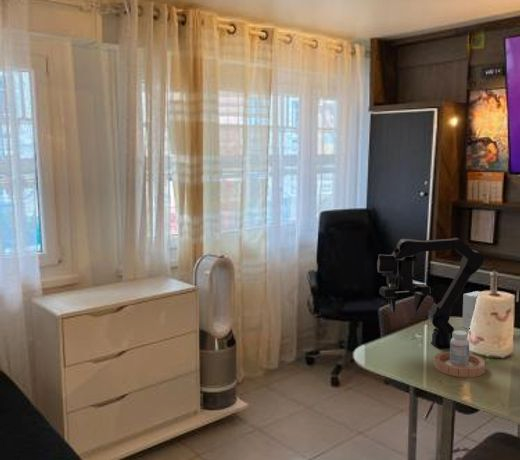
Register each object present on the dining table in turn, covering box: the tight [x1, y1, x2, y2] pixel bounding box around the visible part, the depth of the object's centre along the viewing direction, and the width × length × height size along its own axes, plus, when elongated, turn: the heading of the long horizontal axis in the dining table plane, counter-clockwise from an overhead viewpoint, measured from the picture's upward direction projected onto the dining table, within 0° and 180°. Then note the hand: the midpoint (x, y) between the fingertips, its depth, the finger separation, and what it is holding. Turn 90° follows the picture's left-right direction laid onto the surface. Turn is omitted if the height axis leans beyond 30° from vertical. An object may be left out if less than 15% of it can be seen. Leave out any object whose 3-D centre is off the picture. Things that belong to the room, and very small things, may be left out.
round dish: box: [433, 350, 486, 378], centre depth 183 cm, size 16×16×3 cm
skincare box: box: [461, 290, 481, 330], centre depth 224 cm, size 8×6×15 cm
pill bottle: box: [449, 330, 470, 367], centre depth 182 cm, size 6×6×11 cm
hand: (404, 312), depth 204 cm, fingers open, 9 cm apart
